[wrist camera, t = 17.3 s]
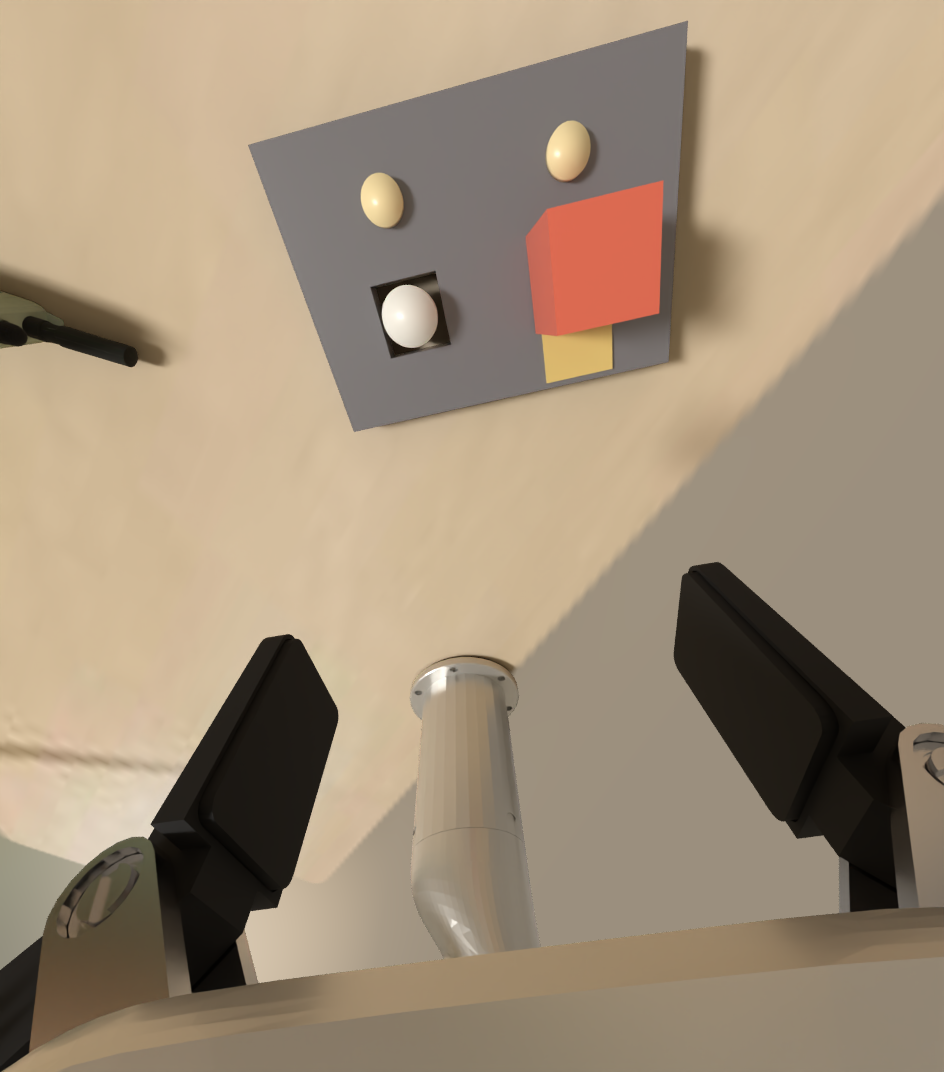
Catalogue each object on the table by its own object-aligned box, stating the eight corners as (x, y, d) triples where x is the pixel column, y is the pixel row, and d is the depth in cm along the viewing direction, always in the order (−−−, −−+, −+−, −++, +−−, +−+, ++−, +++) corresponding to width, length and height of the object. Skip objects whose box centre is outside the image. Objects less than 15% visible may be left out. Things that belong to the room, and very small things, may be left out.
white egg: (443, 338, 25) (442, 341, 23) (396, 349, 25) (391, 353, 23) (430, 280, 23) (429, 278, 22) (380, 293, 23) (374, 292, 22)
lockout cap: (615, 315, 24) (659, 313, 19) (535, 333, 24) (557, 336, 19) (613, 215, 22) (663, 180, 16) (525, 236, 22) (547, 208, 17)
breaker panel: (655, 358, 27) (672, 363, 25) (359, 424, 29) (352, 434, 27) (667, 45, 20) (694, 12, 17) (264, 157, 21) (242, 140, 19)
